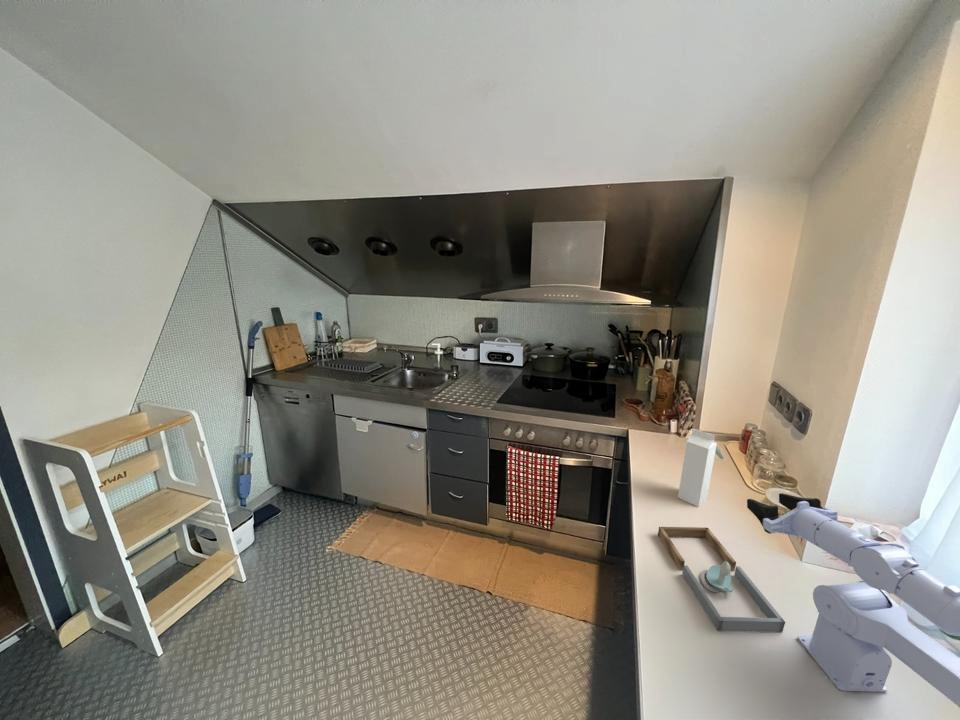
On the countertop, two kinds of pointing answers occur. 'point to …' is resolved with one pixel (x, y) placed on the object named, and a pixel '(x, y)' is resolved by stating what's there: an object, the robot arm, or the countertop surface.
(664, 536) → the walnut bin
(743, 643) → the countertop surface
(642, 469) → the countertop surface
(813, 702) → the countertop surface
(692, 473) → the milk
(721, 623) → the grey bin
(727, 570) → the pacifier
